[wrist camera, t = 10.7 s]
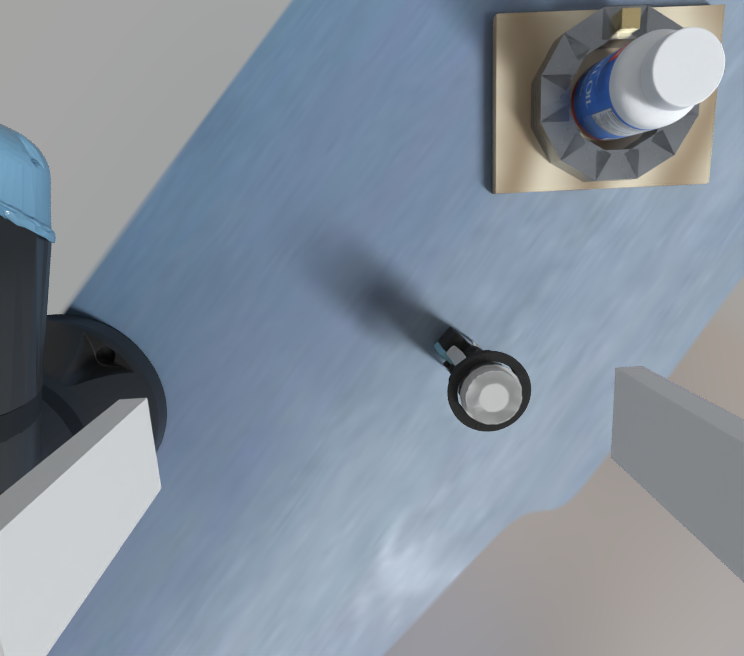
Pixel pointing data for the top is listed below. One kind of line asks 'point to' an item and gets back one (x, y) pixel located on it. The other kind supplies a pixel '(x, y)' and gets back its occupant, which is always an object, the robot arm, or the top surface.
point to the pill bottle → (647, 83)
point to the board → (513, 107)
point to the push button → (483, 384)
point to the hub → (554, 100)
